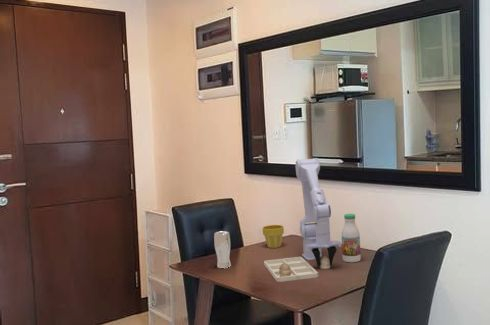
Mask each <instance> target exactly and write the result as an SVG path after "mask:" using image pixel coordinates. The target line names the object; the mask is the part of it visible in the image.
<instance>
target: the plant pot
mask: <svg viewBox="0 0 490 325" xmlns="http://www.w3.org/2000/svg"><path fill="white" fill-rule="evenodd" d="M284 229H285V228H284V225H282V224H269V225H268V224H267V225H265V226H262V235H263V236H264V238H265V243H266V245H267V248H270V249H277V248H280V247H282V240H283V235H284V233H285V230H284Z"/></svg>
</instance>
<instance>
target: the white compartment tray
mask: <svg viewBox="0 0 490 325" xmlns="http://www.w3.org/2000/svg"><path fill="white" fill-rule="evenodd" d="M284 263H286V264H288V265H289V266H290V269H291V276H286V277H280V273H279V267H280V265H281V264H284ZM263 265H264V266H265V269H266V270H268V272H269V273H270V275H271V276H272V277H273V279H274V280H275V281H276V283H282V282H291V281H299V280H307V279H316V278H319V277H320V276H319V275H320V274H319V272H318V271H317V270H316V269H315V268H314V267H313V266H312V265H311V264H310V263H309V262H308V261H307V260H306V259H305V258H304V257H303V256H295V257H285V258H277V259H268V260H263Z"/></svg>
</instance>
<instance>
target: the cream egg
mask: <svg viewBox="0 0 490 325" xmlns="http://www.w3.org/2000/svg"><path fill="white" fill-rule="evenodd" d="M319 269H321V270H328V269H331V265H330V259H329V257H328V255H325V254H324V255H323V254H322V256H321V257H320V267H319Z"/></svg>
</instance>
